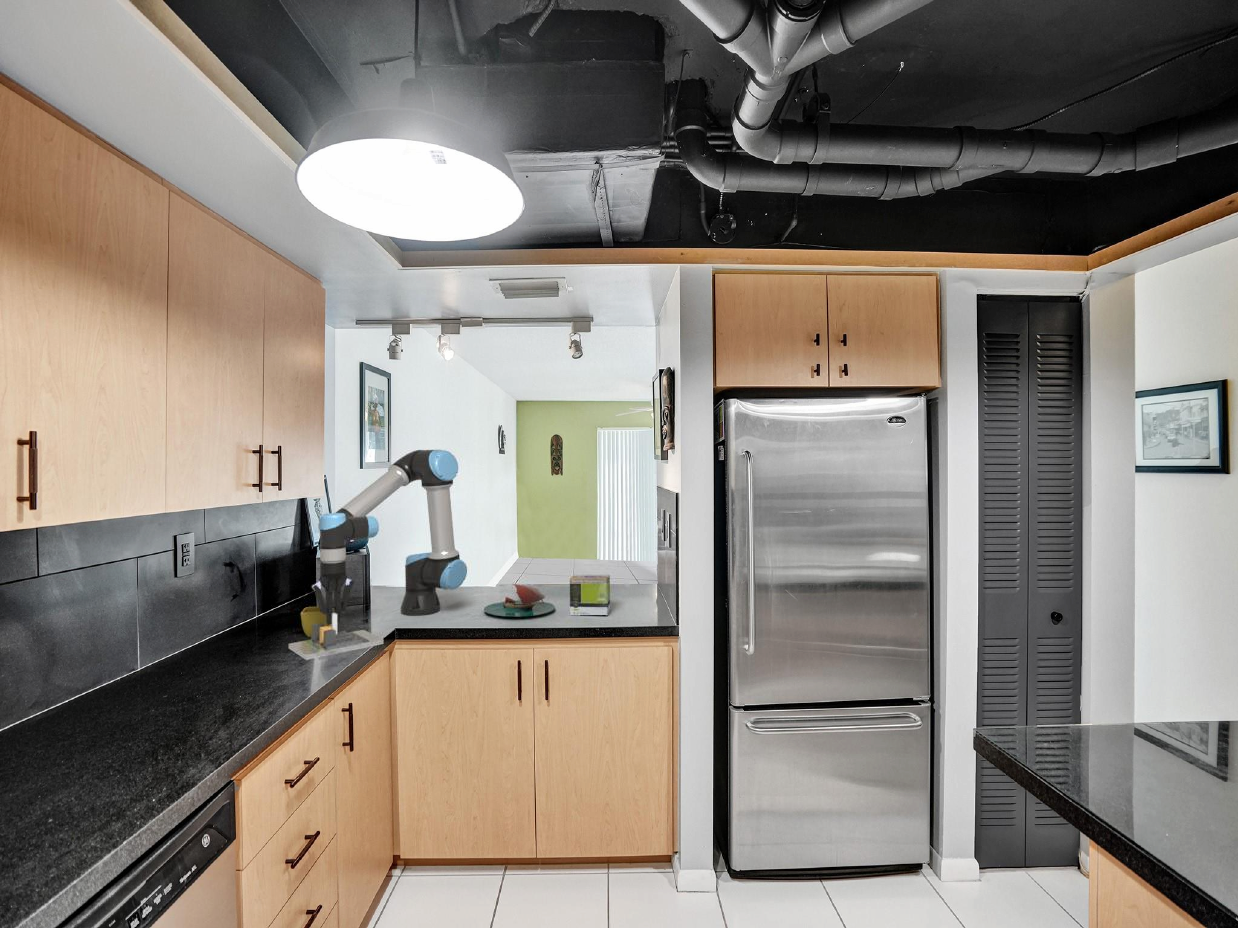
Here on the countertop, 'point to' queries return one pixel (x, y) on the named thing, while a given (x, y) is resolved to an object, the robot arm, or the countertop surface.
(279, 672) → the countertop surface
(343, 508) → the robot arm
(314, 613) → the flower pot
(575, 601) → the tea box
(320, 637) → the orange upright block
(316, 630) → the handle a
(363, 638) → the panel
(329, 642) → the handle
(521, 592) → the sailing ship model
